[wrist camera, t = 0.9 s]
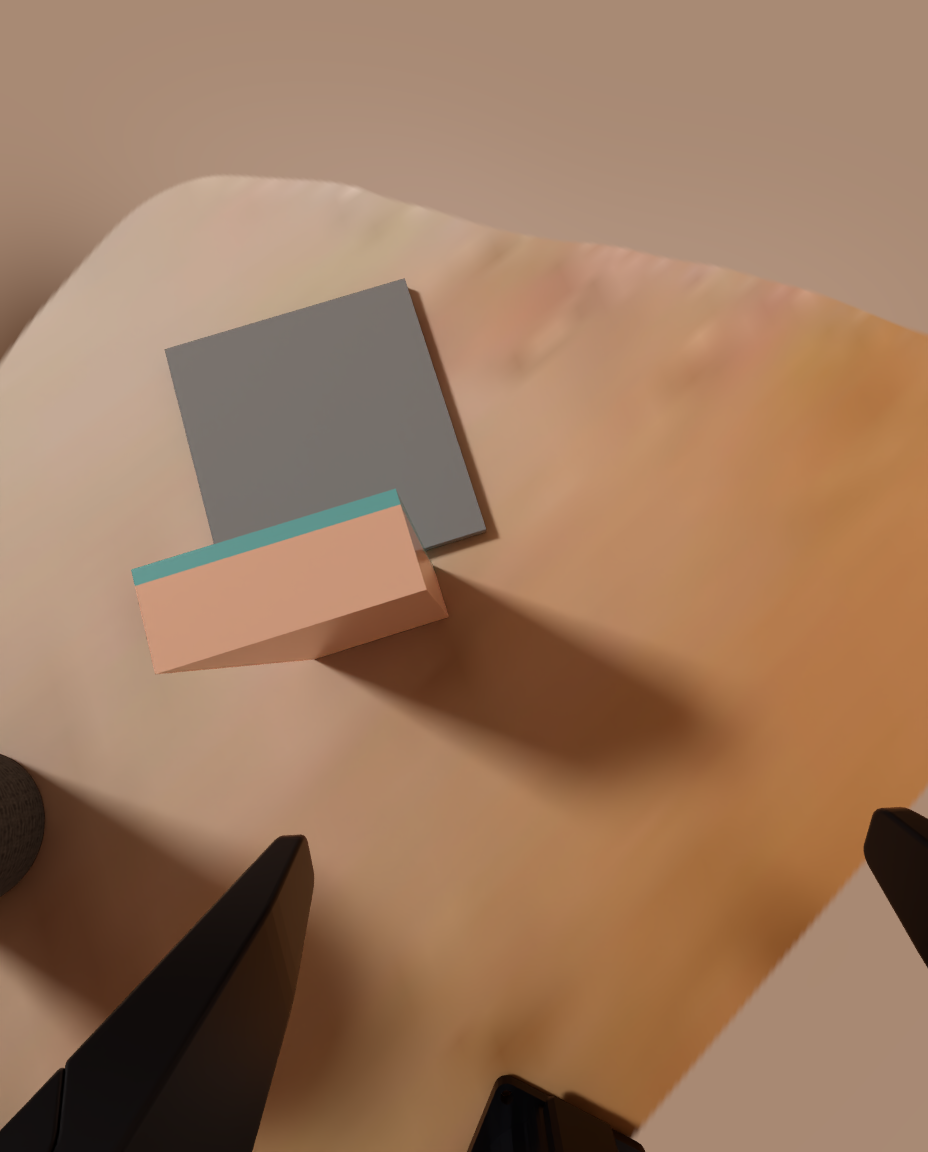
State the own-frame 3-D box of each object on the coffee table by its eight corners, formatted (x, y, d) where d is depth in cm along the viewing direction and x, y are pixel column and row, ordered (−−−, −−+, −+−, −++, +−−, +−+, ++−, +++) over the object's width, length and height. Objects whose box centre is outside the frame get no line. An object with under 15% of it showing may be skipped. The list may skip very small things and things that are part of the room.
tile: (448, 617, 24) (426, 589, 12) (313, 659, 24) (155, 674, 12) (433, 565, 24) (395, 488, 12) (299, 606, 24) (131, 569, 12)
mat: (485, 531, 24) (486, 528, 24) (236, 609, 24) (230, 608, 23) (406, 286, 26) (404, 278, 25) (171, 356, 26) (164, 349, 25)
